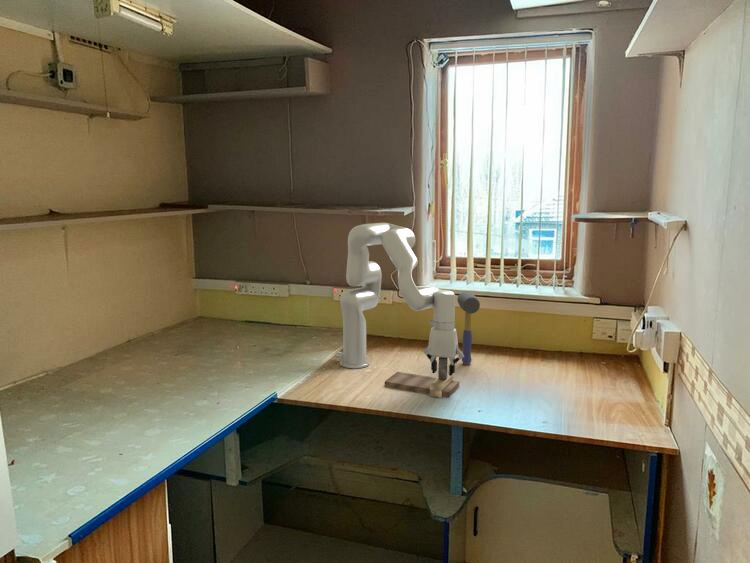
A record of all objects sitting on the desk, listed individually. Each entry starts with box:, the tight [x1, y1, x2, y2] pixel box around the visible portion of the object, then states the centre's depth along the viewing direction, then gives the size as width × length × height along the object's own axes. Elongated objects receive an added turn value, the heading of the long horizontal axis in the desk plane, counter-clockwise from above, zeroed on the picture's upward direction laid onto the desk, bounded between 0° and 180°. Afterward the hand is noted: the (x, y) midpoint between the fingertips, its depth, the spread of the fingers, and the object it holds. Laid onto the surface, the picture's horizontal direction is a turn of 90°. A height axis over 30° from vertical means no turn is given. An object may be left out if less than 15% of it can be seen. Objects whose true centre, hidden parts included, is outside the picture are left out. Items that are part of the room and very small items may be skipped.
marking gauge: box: [429, 357, 455, 398], centre depth 208 cm, size 4×15×12 cm, turn 155°
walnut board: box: [384, 371, 460, 398], centre depth 213 cm, size 25×12×2 cm, turn 65°
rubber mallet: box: [457, 291, 481, 365], centre depth 236 cm, size 12×8×30 cm, turn 4°
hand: (442, 372), depth 208 cm, fingers open, 5 cm apart
